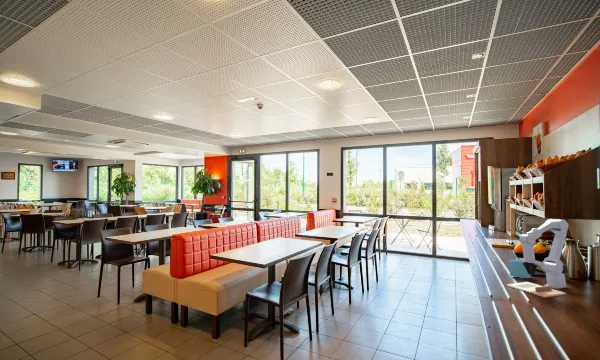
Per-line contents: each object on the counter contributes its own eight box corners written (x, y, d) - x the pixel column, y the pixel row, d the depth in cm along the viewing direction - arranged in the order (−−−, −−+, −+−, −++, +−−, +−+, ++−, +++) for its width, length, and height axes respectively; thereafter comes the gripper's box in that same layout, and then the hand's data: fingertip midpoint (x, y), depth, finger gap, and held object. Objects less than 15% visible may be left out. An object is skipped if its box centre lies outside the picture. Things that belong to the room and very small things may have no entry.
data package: (531, 277, 216) (529, 260, 217) (530, 279, 213) (528, 262, 214) (511, 275, 224) (509, 259, 225) (510, 277, 221) (508, 260, 222)
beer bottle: (566, 278, 209) (561, 243, 211) (572, 281, 202) (567, 245, 203) (552, 278, 211) (548, 243, 213) (558, 281, 204) (553, 245, 206)
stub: (552, 290, 186) (552, 285, 187) (566, 294, 178) (565, 288, 179) (532, 293, 184) (531, 287, 184) (544, 297, 176) (543, 291, 176)
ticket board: (527, 283, 204) (526, 281, 205) (553, 290, 187) (552, 288, 187) (506, 285, 202) (506, 284, 202) (530, 293, 184) (530, 291, 184)
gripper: (513, 252, 200) (516, 272, 199) (533, 255, 185) (536, 277, 184) (522, 251, 201) (525, 271, 200) (543, 254, 186) (546, 276, 185)
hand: (531, 274), depth 192 cm, fingers closed
